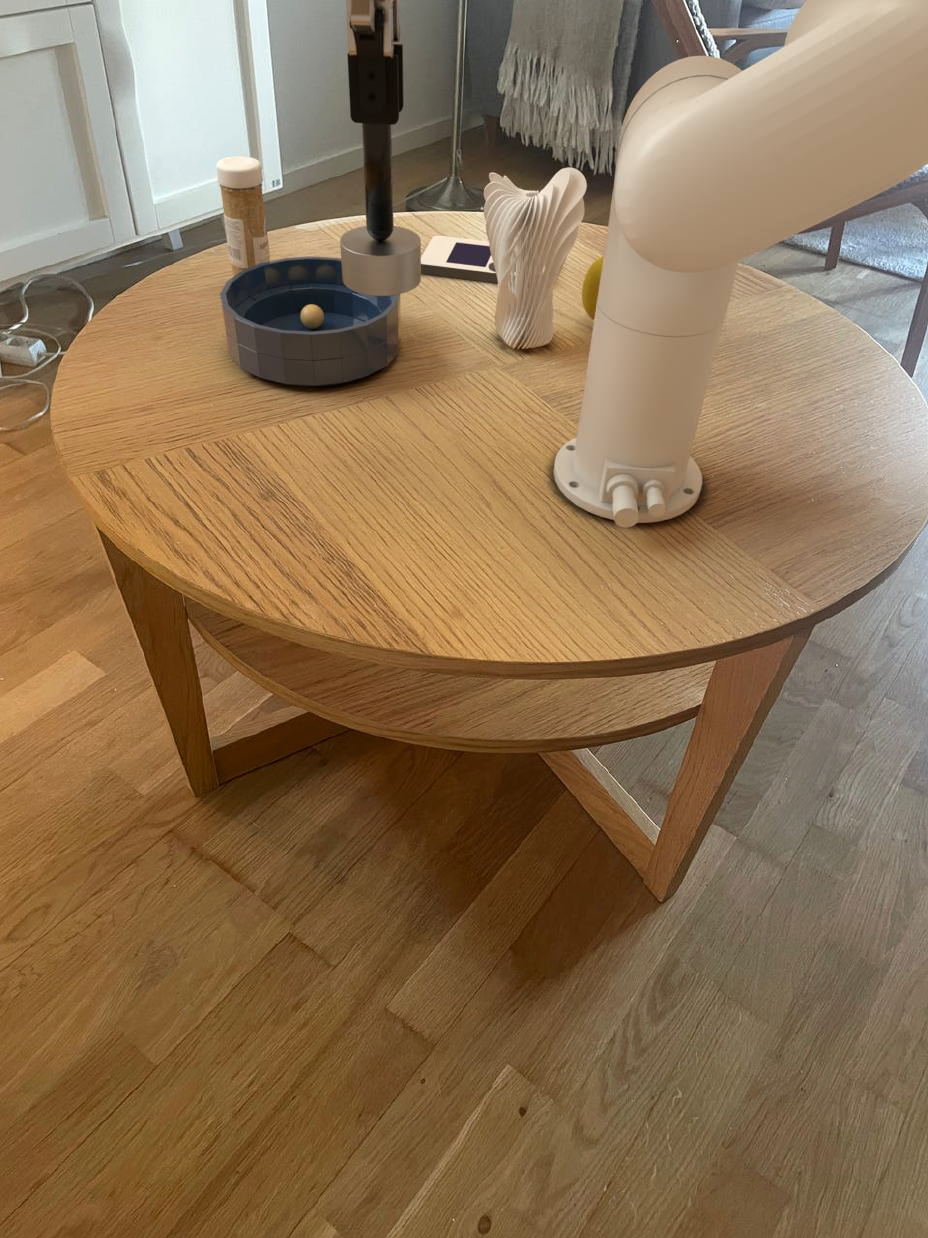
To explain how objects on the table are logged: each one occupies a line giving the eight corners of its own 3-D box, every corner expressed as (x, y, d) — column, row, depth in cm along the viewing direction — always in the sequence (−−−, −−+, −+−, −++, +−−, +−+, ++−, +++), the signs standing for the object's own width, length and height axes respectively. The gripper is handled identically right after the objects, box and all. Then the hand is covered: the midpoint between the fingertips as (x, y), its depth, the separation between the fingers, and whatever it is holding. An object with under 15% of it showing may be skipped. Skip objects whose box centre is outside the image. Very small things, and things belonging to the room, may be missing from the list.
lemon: (626, 340, 98) (639, 266, 92) (574, 333, 99) (584, 259, 93) (630, 318, 102) (642, 245, 96) (580, 311, 103) (590, 239, 97)
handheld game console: (434, 244, 114) (434, 233, 114) (553, 258, 113) (554, 247, 112) (417, 272, 108) (417, 261, 107) (543, 289, 106) (544, 277, 105)
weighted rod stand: (417, 297, 68) (415, 31, 57) (336, 293, 69) (318, 27, 57) (424, 264, 73) (423, 11, 61) (348, 261, 73) (333, 7, 61)
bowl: (391, 397, 88) (390, 339, 83) (211, 387, 88) (201, 328, 83) (406, 316, 100) (406, 261, 96) (248, 306, 100) (241, 251, 96)
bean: (324, 329, 96) (312, 335, 94) (305, 318, 96) (293, 323, 95) (331, 309, 95) (319, 314, 93) (311, 297, 95) (299, 302, 93)
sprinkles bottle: (279, 294, 103) (266, 166, 93) (239, 300, 101) (222, 171, 92) (266, 278, 105) (253, 152, 96) (227, 283, 104) (210, 156, 95)
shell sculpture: (469, 330, 98) (479, 148, 86) (540, 320, 101) (558, 142, 88) (499, 366, 93) (514, 179, 80) (573, 355, 95) (598, 171, 83)
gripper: (322, -259, 56) (341, 82, 69) (266, -259, 44) (301, 150, 57) (445, -254, 56) (441, 87, 68) (421, -253, 44) (421, 157, 57)
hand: (377, 113), depth 63 cm, fingers closed on weighted rod stand
